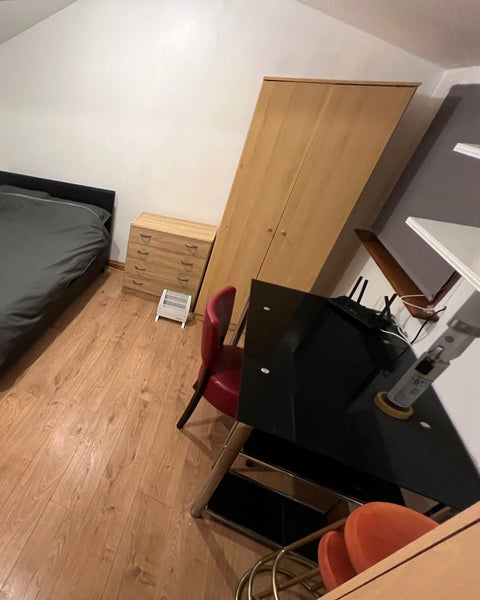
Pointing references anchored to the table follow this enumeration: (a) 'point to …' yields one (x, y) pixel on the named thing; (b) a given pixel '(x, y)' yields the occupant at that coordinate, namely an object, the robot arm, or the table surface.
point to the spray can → (415, 382)
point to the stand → (391, 406)
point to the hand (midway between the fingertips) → (426, 369)
